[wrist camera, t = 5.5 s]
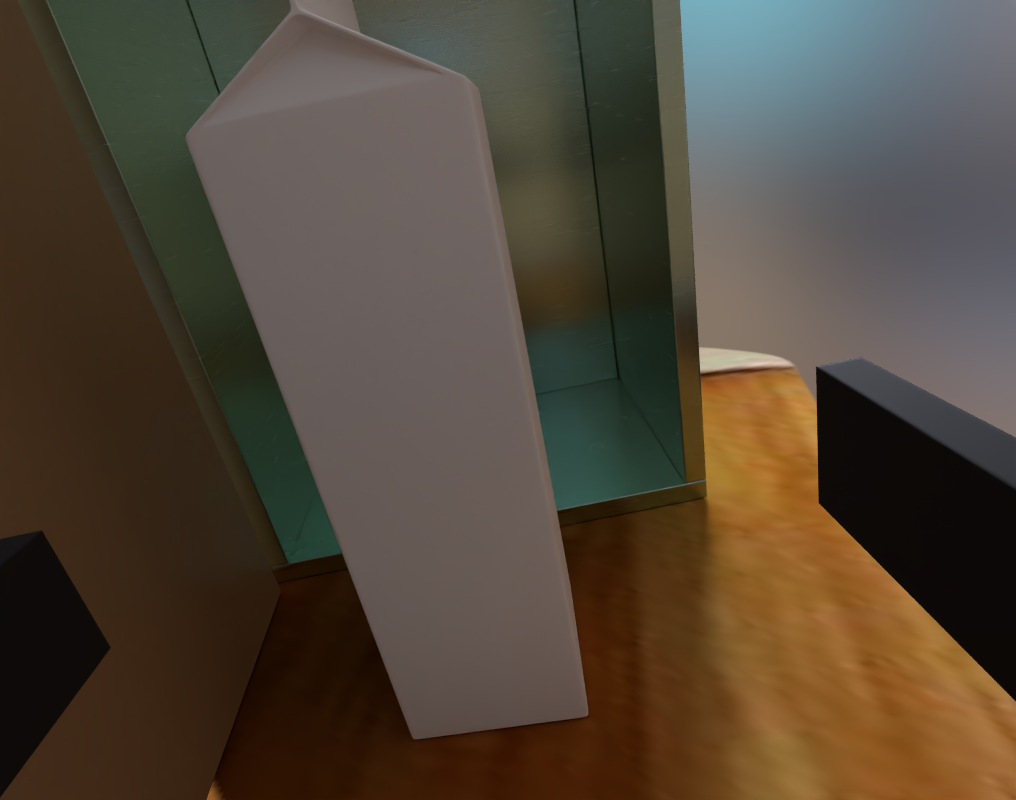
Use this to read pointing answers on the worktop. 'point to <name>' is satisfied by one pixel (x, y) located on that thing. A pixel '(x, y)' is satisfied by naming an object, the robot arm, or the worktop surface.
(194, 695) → the fridge door
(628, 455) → the fridge
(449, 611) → the milk
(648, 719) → the worktop surface
